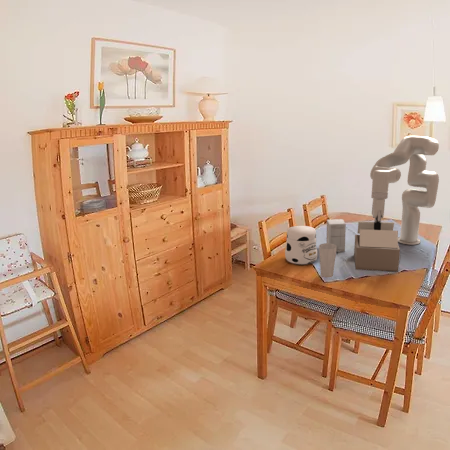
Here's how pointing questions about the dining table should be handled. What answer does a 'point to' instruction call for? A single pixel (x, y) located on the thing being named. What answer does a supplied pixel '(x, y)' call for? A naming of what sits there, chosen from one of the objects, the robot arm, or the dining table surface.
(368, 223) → the back flap
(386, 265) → the carton
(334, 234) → the small drawer cabinet
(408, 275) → the dining table surface
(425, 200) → the robot arm
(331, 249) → the cup
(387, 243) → the front flap
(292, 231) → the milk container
